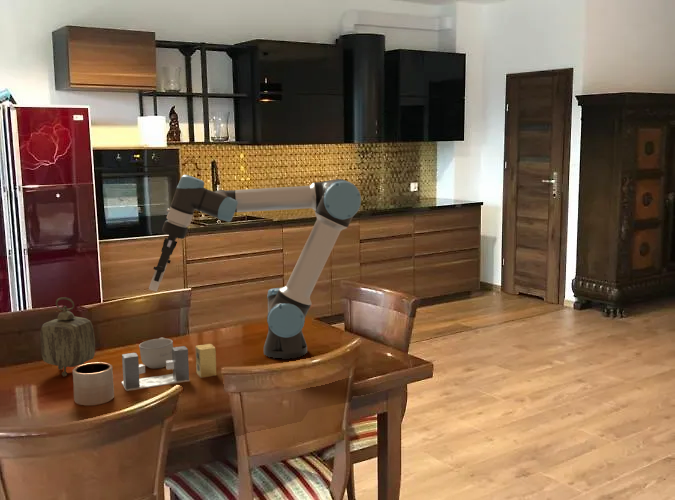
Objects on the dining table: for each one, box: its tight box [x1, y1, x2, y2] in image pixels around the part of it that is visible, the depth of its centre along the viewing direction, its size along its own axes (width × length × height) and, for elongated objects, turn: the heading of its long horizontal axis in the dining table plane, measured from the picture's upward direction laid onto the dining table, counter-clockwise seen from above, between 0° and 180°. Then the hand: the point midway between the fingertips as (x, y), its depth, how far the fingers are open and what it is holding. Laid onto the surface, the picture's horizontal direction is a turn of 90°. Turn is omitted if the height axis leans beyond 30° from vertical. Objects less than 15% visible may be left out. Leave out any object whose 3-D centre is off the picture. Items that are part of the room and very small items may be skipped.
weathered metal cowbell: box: [39, 296, 96, 377], centre depth 223 cm, size 14×9×25 cm, turn 71°
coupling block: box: [195, 343, 217, 379], centre depth 224 cm, size 5×5×9 cm
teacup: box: [138, 337, 174, 369], centre depth 234 cm, size 14×11×8 cm
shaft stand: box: [121, 345, 191, 392], centre depth 216 cm, size 19×8×10 cm, turn 117°
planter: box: [72, 361, 115, 407], centre depth 202 cm, size 11×11×10 cm
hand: (154, 285), depth 225 cm, fingers open, 13 cm apart
